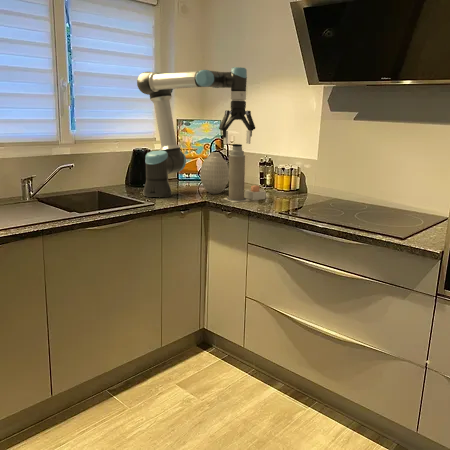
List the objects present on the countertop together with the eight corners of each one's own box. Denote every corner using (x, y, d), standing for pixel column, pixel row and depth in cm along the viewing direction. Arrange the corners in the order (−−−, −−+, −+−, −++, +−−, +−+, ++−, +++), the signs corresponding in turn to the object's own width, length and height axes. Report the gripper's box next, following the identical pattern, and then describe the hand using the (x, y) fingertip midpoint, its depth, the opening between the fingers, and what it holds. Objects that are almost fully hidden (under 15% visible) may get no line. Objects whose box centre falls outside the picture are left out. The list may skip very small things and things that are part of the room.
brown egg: (249, 193, 248) (249, 185, 247) (256, 192, 250) (256, 185, 249) (254, 194, 244) (254, 187, 243) (261, 193, 246) (261, 186, 245)
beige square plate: (223, 198, 245) (223, 197, 244) (239, 197, 250) (239, 196, 249) (233, 202, 236) (233, 201, 236) (249, 200, 241) (249, 199, 241)
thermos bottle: (243, 197, 247) (245, 143, 240) (244, 200, 239) (245, 144, 232) (228, 197, 247) (229, 143, 240) (228, 200, 239) (229, 144, 232)
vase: (226, 195, 253) (227, 154, 247) (197, 194, 255) (197, 153, 250) (231, 190, 268) (231, 151, 263) (203, 189, 271) (203, 150, 265)
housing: (244, 197, 249) (244, 190, 248) (256, 196, 253) (257, 188, 252) (253, 200, 242) (253, 192, 241) (265, 198, 246) (265, 191, 245)
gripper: (220, 100, 221) (219, 145, 226) (263, 101, 233) (261, 143, 239) (212, 99, 227) (211, 143, 233) (254, 100, 240) (253, 142, 245)
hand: (237, 143), depth 236 cm, fingers open, 13 cm apart
